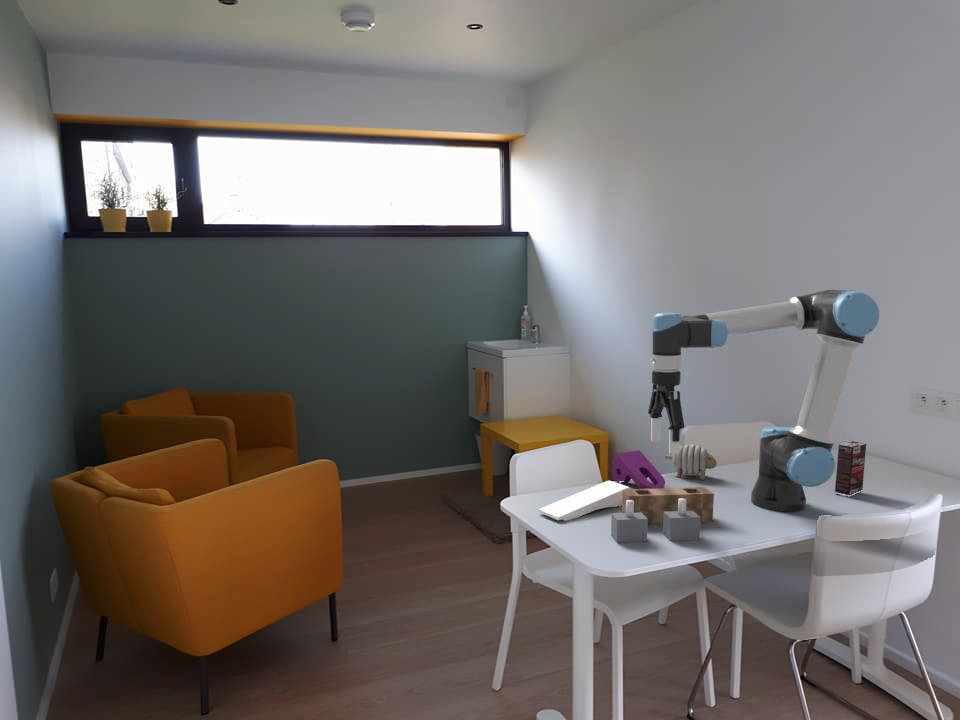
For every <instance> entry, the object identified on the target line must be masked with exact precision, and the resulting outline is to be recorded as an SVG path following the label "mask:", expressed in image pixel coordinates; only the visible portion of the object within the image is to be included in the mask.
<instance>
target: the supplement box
mask: <svg viewBox="0 0 960 720" xmlns="http://www.w3.org/2000/svg"><path fill="white" fill-rule="evenodd" d="M866 449H867V443H864V442H859V441H854V440H853V441H849V442H845V443H839V444H838V452H837V461H836V462H837V463H836V475H835V487H834V493H835V492H837V493H841V494H845V495H852V494H854V493H856V492H859V491H861V490H863V489H864V475H865V462H866Z"/></svg>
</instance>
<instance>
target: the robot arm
mask: <svg viewBox="0 0 960 720" xmlns="http://www.w3.org/2000/svg"><path fill="white" fill-rule="evenodd" d="M652 319H653V320H652V321H653V322H652V329H651V331H652V357H651V358H650V362H651V367H652V369H653V370H652V371H651V384H652V391H651V396H650V401H649V404H648V405H649V406H648V410H647V413H648V414H649V415H650V416H649V417H650V418H651V419H650V421H651V422H650V441H651V442H661V441H662V418H663V415H662V412H663V410H664V408H665V411H666V414H667V417H668V422H669V426H668V430H669V431H668V454H673V453H680V446H681V430H682V429H684V428H685V424H684V417H683V410H682V403H681V392H680V391H679V390H676V391H675V387H676V386H679V385H680V384H681V371H680V370H681V368H682V349H688V348H694V349H696V348H699V349H700V348H701V349H702V348H704V349H705V348H708V349H709V348H711V349H714V348H722V347H724V346H725V345H726V343H727V341H728V337H736V336H742V335H749V334H751V335H752V334H758V333H763V332H769V331H770V332H771V331H777V330H782V329H783V330H785V329H790V328H793V329H794V330H796V331H800V330H817V331H816V337H817V338H818V340H819V346H818V349H817V352H816V356H815V360H814V364H813V366H812V370H811V373H810V376H809V381H808V383H807V388H806V392H805V395H804V398H803V401H802V405H801V409H800V412H799V415H798V419H797V423H796V425H795V426H794V427H789V426H788V427H787V426H786V427H785V426H771V427H770V426H769V427H764V428H762V430H761V431H760V438H759V458H758V459H759V460H758V475H757V476H758V477H757V478H756V481H755V483H754V486H753V489H752V491H751V496H750V501H751V502H752V504H754V505H755V506H757V507H760V508H763V509H766V510H767V509H768V510H771V511H777V512H798V511H802V510H804V509H806V508H807V507H806V506H807V498H806V495H805V491H804V487H807V488H813V487H815V488H816V487H818V486H821V485H823V484H825V483H826V482H827V481H829V480H830V479H831V477H832V476H833V474H834V473H835V469H836V460H835V458H834V456H833V454H832V450H833V447H834V440H833V438H832V437H831V430H832V427H833V424H834V421H835V418H836V414H837V411H838V410H837V409H838V407H839V403H840V400H841V397H842V393H843V390H844V387H845V383H846V380H847V376H848V373H849V369H850V367H851V363H852V359H853V356H854V352H855V350H856V349H858V348H860V347H861V346H863V344H864V341H865V338H866V336H867V335H869V334H870V333H871V332H873V331H874V330H875V329H876V328H877V326H878V325H879V324H878V323H879V322H880V308H879V306H878V304H877V302H876V301H875V299H874V298H873V297H872V296H870V295H869V294H868V293H865V292H862V291H857V290H851V289H849V290H842V289H839V290H837V289H827V290H826V289H825V290H821V291H817V292H812V293H808V294H803V295H799V296H792V297H791V298H790V299H789V300H788V301H782V302H776V303H770V304H768V303H767V304H763V305H756V306H750V307H743V308H737V309H729V310H723V311H722V310H721V311H717V312H711V313H704V314H697V315H682V313H679V312H658V313H655V314H654V315H653V318H652Z"/></svg>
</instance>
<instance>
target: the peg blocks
mask: <svg viewBox="0 0 960 720" xmlns="http://www.w3.org/2000/svg"><path fill="white" fill-rule="evenodd" d="M700 519H701V517H700V516H699V515H697V514H696V513H695V512H694V511H686V499H684V498H679V499H678V511H669V512H664V514H663V523H662V535H664V536H665V537H666V538H667V539H668V540H669V541H670V540H674V541H693V540H695V541H697V540H700V539H701V538H700V537H701V522H700ZM610 525H611V527H610V536H611V537H612V539H613V540H614V541H615V543H616V542H618V543H619V542H621V543H640V542H641V543H642V541H644V542H645V541H647V542H648V528H649V527H648V525H649V524H648V519H647V518H646V517H645V516H644V515H643V514H642V513H641V512H639V513H634V501H633V500H626V513H622V512H613V513H611V524H610ZM644 542H643V543H644Z"/></svg>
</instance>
